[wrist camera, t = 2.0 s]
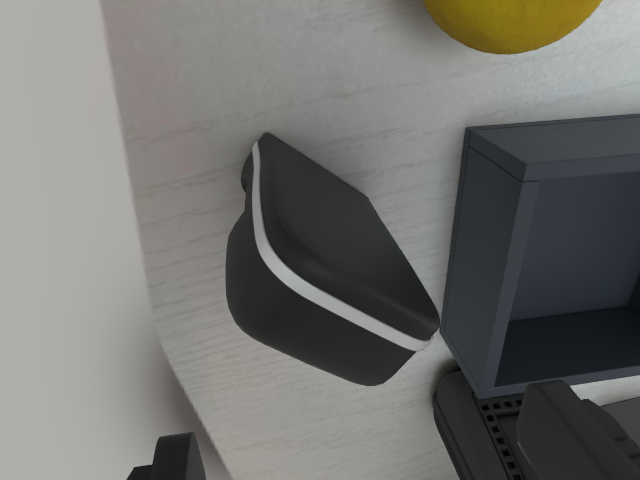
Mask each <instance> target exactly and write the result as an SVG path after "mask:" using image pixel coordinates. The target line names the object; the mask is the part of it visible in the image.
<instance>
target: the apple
mask: <svg viewBox="0 0 640 480" xmlns="http://www.w3.org/2000/svg"><path fill="white" fill-rule="evenodd" d="M601 1H602V0H423V2H424V4H425V7H426V9H427V10H428V12H429V14H430V16H431V17H432V19H433V20H434V21H435V23H436V24H437V25H438V26H439V27H440V28H441V29H442V30H443V31H444V32H446V33H447V34H448V35H449V36H450V37H452V38H453V39H455V40H457V41H459V42H460V43H462V44H464V45H466V46H468V47H470V48H472V49H475V50H478V51H482V52H487V53H493V54H517V53H523V52H527V51H531V50H536V49H539V48H541V47H544V46H546V45H549V44H551V43H553V42H555V41H557V40H560V39H561V38H563V37H564V36H566V35H567V34H569V33H570V32H572V31H573V30H574V29H576V28H577V27H578V26H580V25H581V24H582V23H583V22H584V21H585V20H586V19H587V18H588V17H589V16H590V15H591V14H592V13H593V12H594V11H595V9H596V8H597V7H598V6H599V4H600V3H601Z"/></svg>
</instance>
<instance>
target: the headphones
mask: <svg viewBox="0 0 640 480" xmlns="http://www.w3.org/2000/svg"><path fill="white" fill-rule="evenodd" d="M523 397H524V393H518V394H512V395H505V396H498V397H492V398H485V399H478V397H477V396H476V394H475V392H474V391H473V389H472V387H471V385H470V384H469V382H468V380H467V378H466V377H465V375H464V373H463V372H462V371H456V372H453V373H450V374H447V375H445V376H444V377H443V378H442V379H441V381H440V383H439V385H438V389H437V390H436V391H435V392H434V395H433V401H432V402H433V408H434V411H433V412H434V419H435V423H436V426H437V428H438V431H439V433H440V435H441V438H442V440H443V442H444V444H445V447H446V449H447V451H448V454H449V456H450V458H451V460H452V463H453V465H454V467H455V469H456V472H457V474H458V476H459V478H460V480H540V478H539V477H538V475H537V473H536V472H535V470H534V469H533V467H532V465H531V464H530V462H529V460H528V459H527V457H526V455H525V454H524V452H523V450H522V448H521V446H520V444H519V441H518V437H517V432H516V424H517V420H518V416H519V412H520V408H521V405H522V401H523Z"/></svg>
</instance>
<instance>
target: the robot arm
mask: <svg viewBox="0 0 640 480" xmlns="http://www.w3.org/2000/svg"><path fill="white" fill-rule="evenodd" d="M516 432H517V437H518V441H519V444H520V446H521V448H522V450H523V452H524V454H525V455H526V457H527V459H528V460H529V462H530V464H531V465H532V467H533V469H534V470H535V472H536V473H537V475H538V477H539V478H540V480H640V448H639V446H638V445H637V444H636V443H635V442H634V441H633V440H630V438H629V435H628V434H627V433H626V432H625V430H624V429H623V428H622V427H621V426H620V425H619V424H618V422H617V421H616V420H615V419H614V418H613V417H612V416H611V415H610V414H609V413H607V412H606V411H605V410H603V409H602V408H600V407H599V406H597V405H596V404H595V403H593V402H592V401H590V400H589V399H584V400H580V398H579V397H578V396H577V395H576V394H575V392H574V391H573V390H572V389H571V388H570V386H569V385H568V384H567V383H566V382H564V381H562V380H560V379H557V380H550V381H544V382H537V383H530V384H528V385H527V387H526V390H525V393H524V397H523V401H522V405H521V408H520V412H519V416H518V420H517V424H516ZM127 480H206V476H205V470H204V466H203V463H202V459H201V455H200V451H199V447H198V444H197V440H196V436H195V433H194V432H189V433H182V434H175V435H169V436H162V437H159V439H158V441H157V445H156V449H155V454H154V459H153V464H152V465H146V466H139V467H134V469H133V470H132V472H131V474H130V475H129V477H128V478H127Z"/></svg>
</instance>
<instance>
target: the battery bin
mask: <svg viewBox="0 0 640 480" xmlns="http://www.w3.org/2000/svg"><path fill="white" fill-rule="evenodd" d="M440 334H441V335H442V337H443V338H444V340H445V342H446V344H447V346H448V347H449V349H450V351H451V353H452V354H453V356H454V358H455V359H456V361H457V363H458V365H459V366H460V368H461V370H462V372H463V373H464V375H465V377H466V378H467V380H468V382H469V384H470V385H471V387H472V389H473V391H474V392H475V394H476V396H477V397H478V399H485V398H492V397H498V396H505V395H512V394H518V393H525V390H526V387H527V385H528V384H530V383H537V382H544V381H550V380H557V379H560V380H562V381H564V382H566V383H567V384H568V385H569V386H571V385H577V384H584V383H590V382H597V381H603V380H610V379H617V378H623V377H630V376H636V375H640V114H632V115H619V116H606V117H594V118H581V119H568V120H555V121H543V122H530V123H517V124H505V125H492V126H479V127H467V128H466V132H465V140H464V148H463V155H462V163H461V171H460V179H459V187H458V195H457V203H456V211H455V218H454V226H453V234H452V242H451V250H450V258H449V266H448V273H447V281H446V289H445V297H444V305H443V313H442V321H441V329H440Z"/></svg>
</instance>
